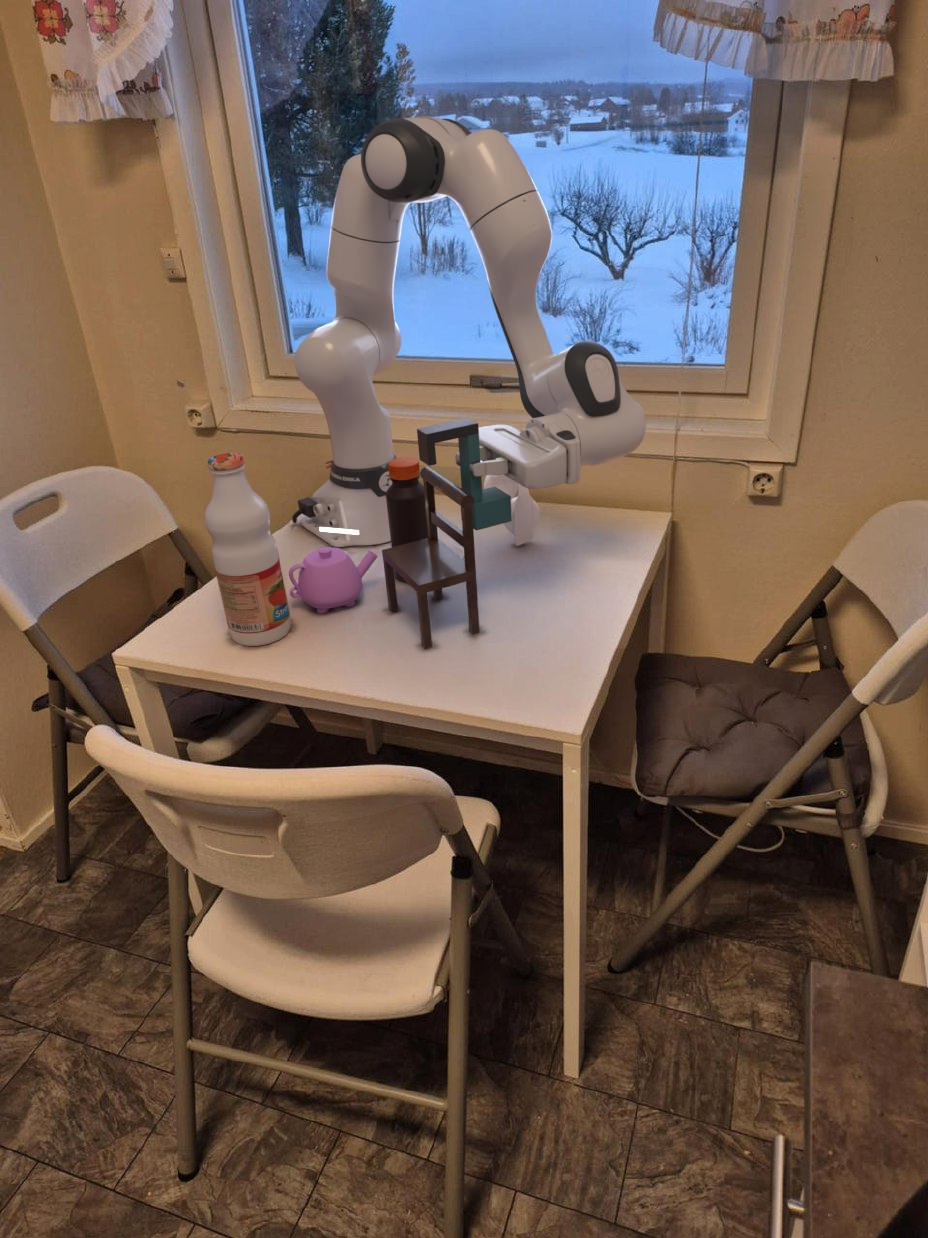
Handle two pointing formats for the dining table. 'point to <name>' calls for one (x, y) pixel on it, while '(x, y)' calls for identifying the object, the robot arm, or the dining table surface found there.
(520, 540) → the headset
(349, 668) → the dining table surface
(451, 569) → the chair
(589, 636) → the dining table surface
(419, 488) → the bottle
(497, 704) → the dining table surface
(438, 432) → the block
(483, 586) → the dining table surface
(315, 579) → the teapot
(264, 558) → the fruit juice
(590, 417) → the robot arm
